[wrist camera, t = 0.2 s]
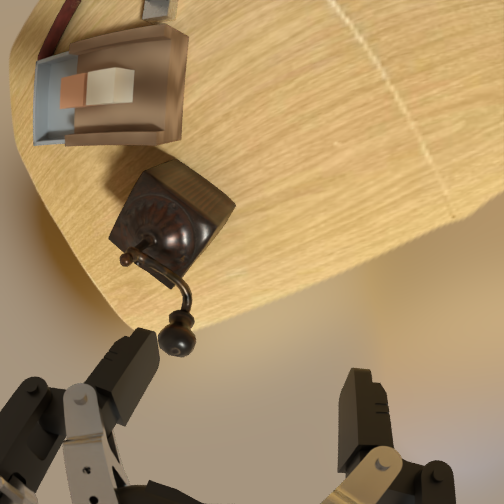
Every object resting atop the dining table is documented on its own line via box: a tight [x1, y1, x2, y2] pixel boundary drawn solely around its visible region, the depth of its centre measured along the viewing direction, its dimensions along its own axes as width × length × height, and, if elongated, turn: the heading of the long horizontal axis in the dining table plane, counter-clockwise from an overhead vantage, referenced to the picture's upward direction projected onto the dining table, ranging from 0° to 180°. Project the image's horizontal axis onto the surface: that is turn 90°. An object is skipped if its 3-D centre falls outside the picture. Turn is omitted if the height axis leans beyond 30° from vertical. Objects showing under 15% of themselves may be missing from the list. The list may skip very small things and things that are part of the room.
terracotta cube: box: [60, 73, 96, 109], centre depth 29 cm, size 4×4×4 cm
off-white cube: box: [86, 67, 135, 105], centre depth 29 cm, size 4×4×4 cm
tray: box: [33, 51, 78, 146], centre depth 35 cm, size 14×11×4 cm
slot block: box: [65, 24, 189, 146], centre depth 32 cm, size 14×14×7 cm
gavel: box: [38, 0, 81, 61], centre depth 30 cm, size 21×5×10 cm
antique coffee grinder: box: [108, 159, 236, 357], centre depth 34 cm, size 16×11×18 cm
